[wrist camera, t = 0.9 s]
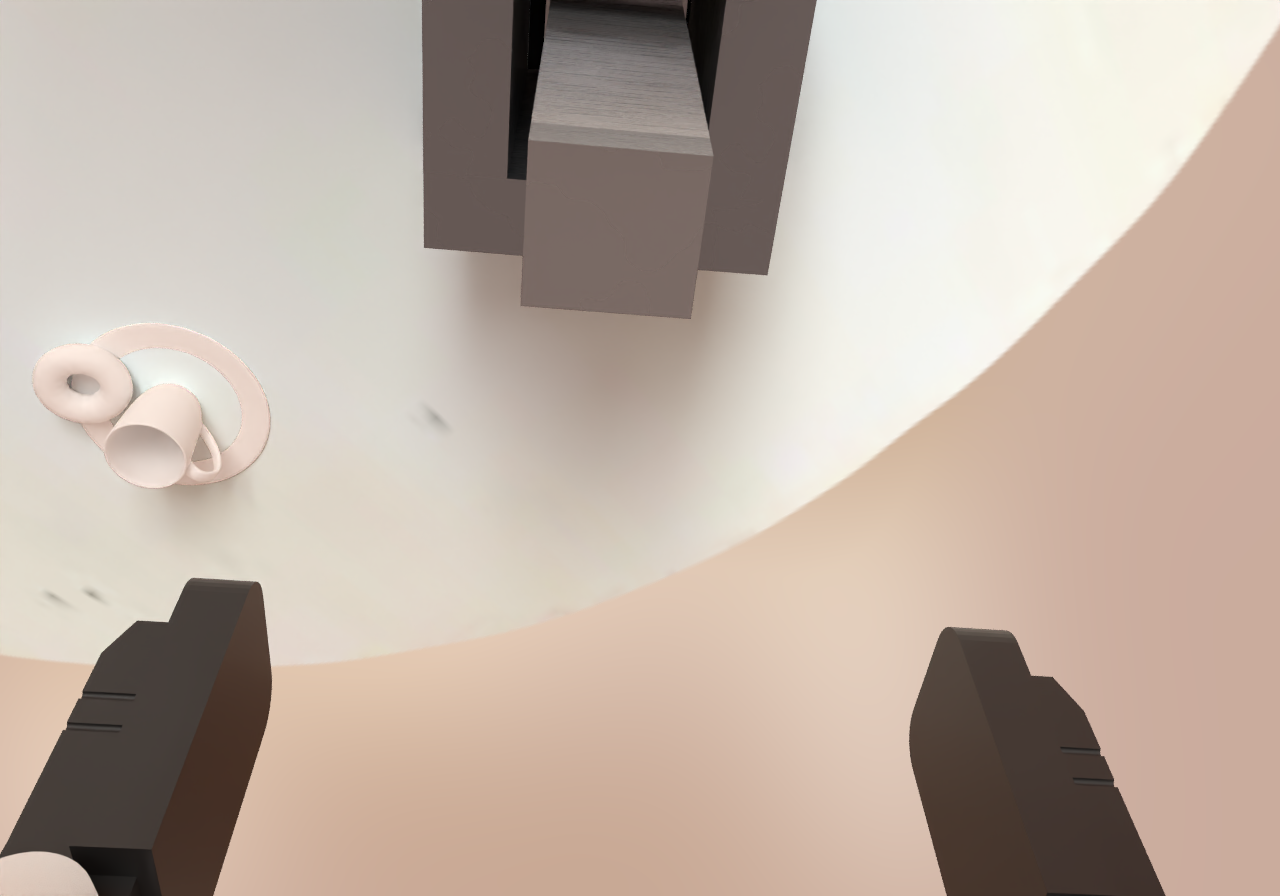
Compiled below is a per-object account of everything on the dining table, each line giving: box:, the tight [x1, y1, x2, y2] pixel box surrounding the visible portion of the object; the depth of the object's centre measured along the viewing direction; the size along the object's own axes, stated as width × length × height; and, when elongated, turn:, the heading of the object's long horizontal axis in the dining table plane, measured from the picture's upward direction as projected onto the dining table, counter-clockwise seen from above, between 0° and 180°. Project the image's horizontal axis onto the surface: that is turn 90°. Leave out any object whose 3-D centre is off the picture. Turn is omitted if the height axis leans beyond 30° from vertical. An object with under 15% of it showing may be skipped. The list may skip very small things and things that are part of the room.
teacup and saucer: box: [32, 323, 270, 489], centre depth 46 cm, size 9×8×4 cm
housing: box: [422, 0, 817, 275], centre depth 34 cm, size 12×12×11 cm
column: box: [521, 0, 713, 319], centre depth 31 cm, size 4×4×19 cm
